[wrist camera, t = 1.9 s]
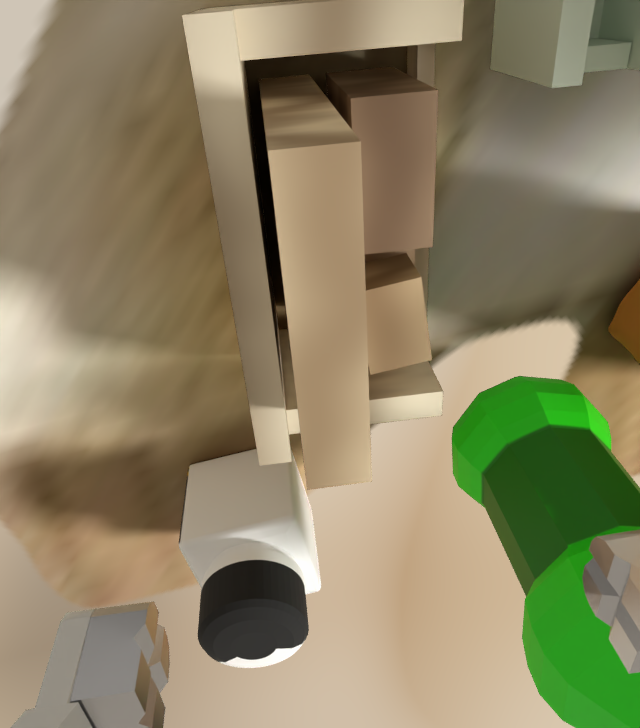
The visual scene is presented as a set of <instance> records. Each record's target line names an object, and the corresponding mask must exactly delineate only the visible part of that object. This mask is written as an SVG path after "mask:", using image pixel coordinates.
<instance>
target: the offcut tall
mask: <svg viewBox="0 0 640 728" xmlns="http://www.w3.org/2000/svg"><path fill="white" fill-rule="evenodd" d="M326 84H327V98H328V100H329V101H330V102H331V103H332V105H333V106H334V107H335V109H336V110H337V111H338V112H339V114H340V115H341V116H342V118H343V119H344V120H345V121H346V123H347V124H348V125H349V127H350V128H351V129H352V131H353V132H354V133H355V134H356V136H357V137H358V138H359V140H360V141H361V160H362V191H363V222H364V253H365V254H373V253H382V252H392V251H401V250H410V249H419V248H428V247H433V227H434V199H435V170H436V142H437V114H438V90H437V89H435V88H433V87H431V86H429V85H428V84H426V83H424V82H422V81H420V80H418V79H416V78H414V77H412V76H410V75H408V74H406V73H404V72H402V71H400V70H398V69H396V68H394V67H384V68H373V69H362V70H351V71H341V72H330V73H326Z"/></svg>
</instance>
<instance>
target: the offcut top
mask: <svg viewBox="0 0 640 728" xmlns="http://www.w3.org/2000/svg"><path fill="white" fill-rule="evenodd" d="M365 284H366V315H367V346H368V368H369V372H370V375H372V374H376V373H380V372H384V371H389V370H393V369H397V368H401V367H405V366H409V365H413V364H418V363H422V362H426V361H430V360H432V355H431V347H430V340H429V332H428V324H427V317H426V309H425V301H424V294H423V286H422V278H421V276H420V274H419V273H418V271H417V269H416V268H415V266H414V265H413V263H412V261H411V260H410V258H409V256H408V255H407V253H405V254H401V255H396V256H392V257H388V258H384V259H380V260H376V261H372V262H368V263H365Z"/></svg>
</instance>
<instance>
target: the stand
mask: <svg viewBox="0 0 640 728" xmlns="http://www.w3.org/2000/svg"><path fill="white" fill-rule="evenodd" d="M627 68H629V69H634V70H639V71H640V0H496V1H495V13H494V26H493V39H492V52H491V64H490V69H491V70H494V71H497V72H501V73H504V74H507V75H511V76H514V77H517V78H520V79H524V80H527V81H530V82H533V83H537V84H540V85H543V86H546V87H550V88H559V87H569V86H579V85H582V81H583V75H584V73H587V72H597V71H608V70H618V69H627Z"/></svg>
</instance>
